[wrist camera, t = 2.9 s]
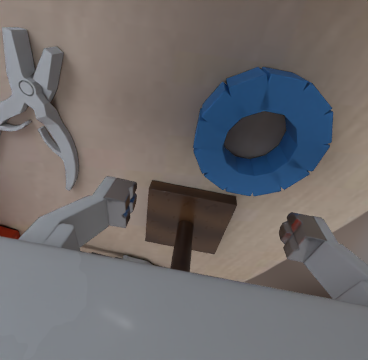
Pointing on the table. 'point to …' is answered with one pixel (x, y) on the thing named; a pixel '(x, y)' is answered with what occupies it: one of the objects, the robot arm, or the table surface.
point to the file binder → (9, 233)
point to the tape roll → (254, 103)
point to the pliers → (36, 95)
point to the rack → (187, 220)
